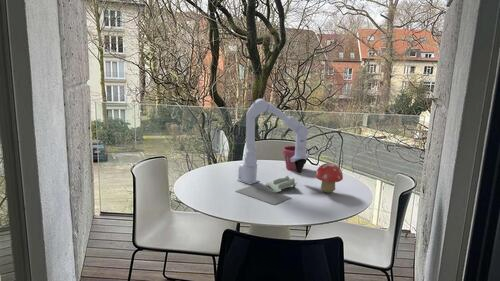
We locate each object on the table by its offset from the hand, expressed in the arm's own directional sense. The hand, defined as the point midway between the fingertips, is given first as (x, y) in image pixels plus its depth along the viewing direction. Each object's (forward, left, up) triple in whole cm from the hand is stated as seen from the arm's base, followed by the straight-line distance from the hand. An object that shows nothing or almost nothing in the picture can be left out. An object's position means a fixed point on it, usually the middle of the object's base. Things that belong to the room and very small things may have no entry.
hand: (299, 172), depth 199 cm
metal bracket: (0, -14, -6) cm, 15 cm away
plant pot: (-17, +20, -6) cm, 27 cm away
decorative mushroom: (+19, -2, -6) cm, 20 cm away
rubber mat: (-1, -29, -6) cm, 29 cm away
